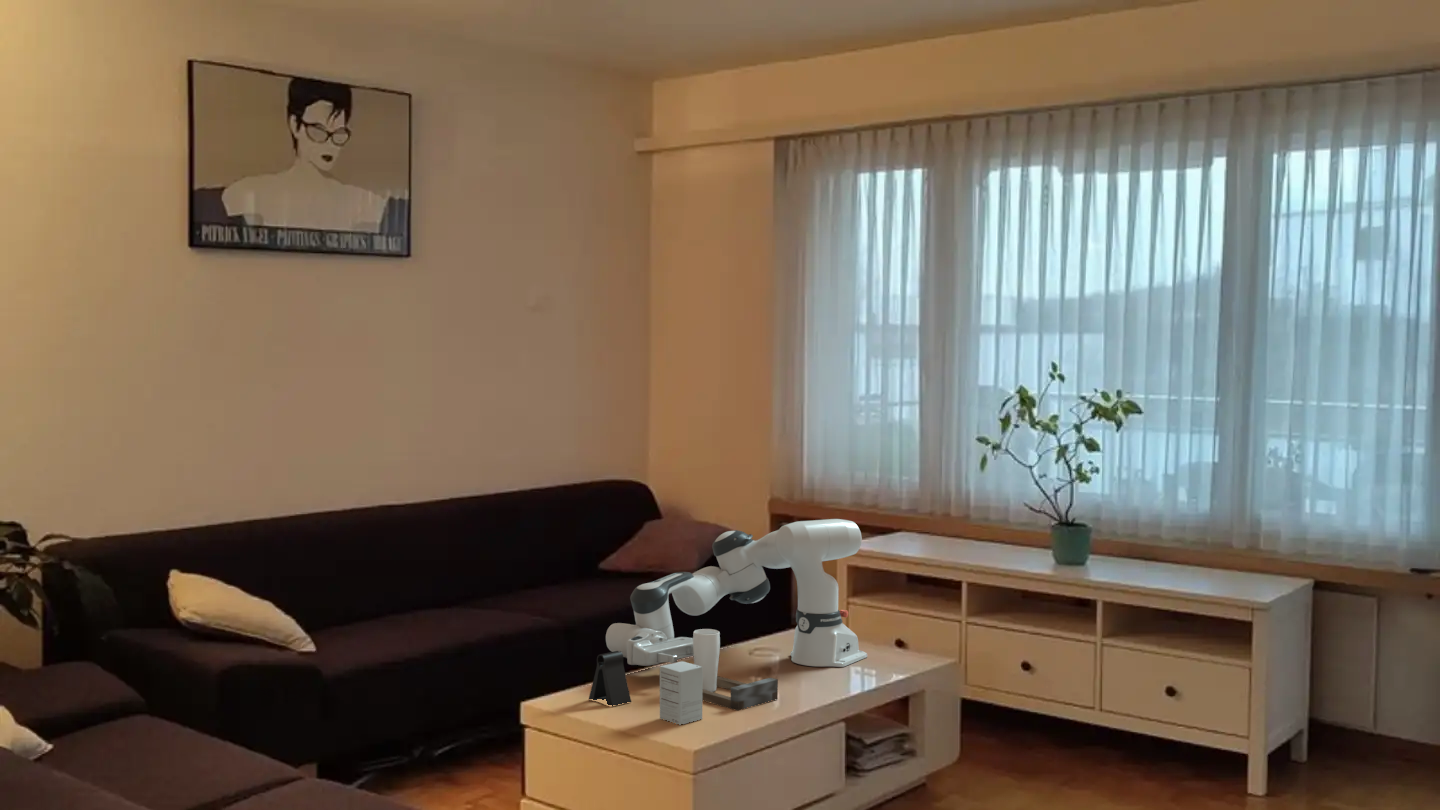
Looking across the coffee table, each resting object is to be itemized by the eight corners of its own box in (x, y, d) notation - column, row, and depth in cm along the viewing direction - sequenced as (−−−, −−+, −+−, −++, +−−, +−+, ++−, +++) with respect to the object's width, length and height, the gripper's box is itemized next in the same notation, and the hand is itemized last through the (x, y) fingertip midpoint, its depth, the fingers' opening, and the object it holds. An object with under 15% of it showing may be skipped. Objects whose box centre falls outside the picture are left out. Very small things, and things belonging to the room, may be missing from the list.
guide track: (714, 682, 349) (714, 663, 349) (777, 699, 334) (777, 679, 333) (674, 692, 339) (674, 672, 339) (737, 710, 324) (738, 689, 324)
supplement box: (682, 713, 321) (682, 660, 321) (703, 719, 316) (703, 666, 315) (658, 719, 316) (658, 665, 316) (679, 726, 311) (679, 671, 310)
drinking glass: (716, 695, 337) (716, 635, 337) (689, 693, 339) (690, 633, 338) (721, 688, 344) (722, 629, 343) (695, 686, 345) (696, 628, 345)
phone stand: (588, 700, 332) (588, 651, 331) (607, 695, 336) (607, 647, 335) (612, 707, 325) (612, 658, 325) (631, 703, 330) (631, 654, 329)
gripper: (680, 652, 362) (717, 661, 352) (622, 665, 348) (659, 675, 338) (681, 629, 362) (717, 637, 352) (623, 641, 347) (659, 650, 338)
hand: (688, 656), depth 345 cm, fingers open, 8 cm apart
